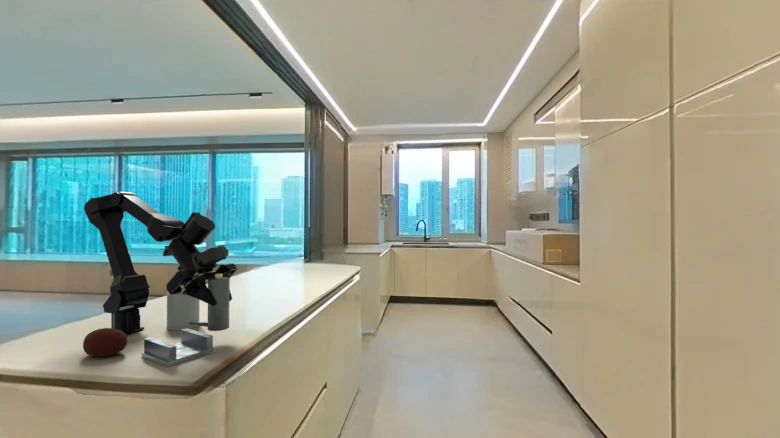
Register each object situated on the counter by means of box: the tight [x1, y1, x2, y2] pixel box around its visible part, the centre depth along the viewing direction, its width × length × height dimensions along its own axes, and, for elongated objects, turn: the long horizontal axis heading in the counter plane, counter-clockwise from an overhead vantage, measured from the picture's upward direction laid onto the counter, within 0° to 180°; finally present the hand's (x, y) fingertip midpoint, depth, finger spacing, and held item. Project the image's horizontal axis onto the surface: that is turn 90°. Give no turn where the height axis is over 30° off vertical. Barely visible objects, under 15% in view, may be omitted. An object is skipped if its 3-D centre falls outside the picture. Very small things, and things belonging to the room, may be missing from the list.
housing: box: [141, 328, 216, 368], centre depth 88 cm, size 11×11×4 cm
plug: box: [189, 274, 231, 332], centre depth 96 cm, size 12×5×14 cm, turn 73°
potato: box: [82, 327, 128, 358], centre depth 87 cm, size 7×10×6 cm
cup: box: [166, 289, 200, 331], centre depth 111 cm, size 8×8×10 cm
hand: (223, 302), depth 94 cm, fingers closed on plug, 5 cm apart
